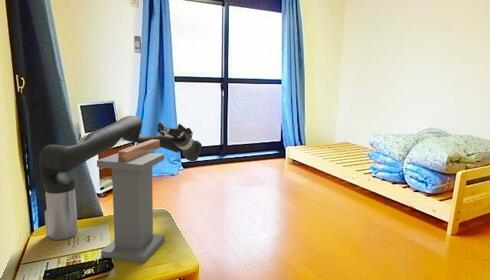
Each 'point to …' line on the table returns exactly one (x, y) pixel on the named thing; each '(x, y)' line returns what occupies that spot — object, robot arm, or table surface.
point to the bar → (138, 150)
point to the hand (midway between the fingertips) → (168, 125)
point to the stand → (132, 208)
